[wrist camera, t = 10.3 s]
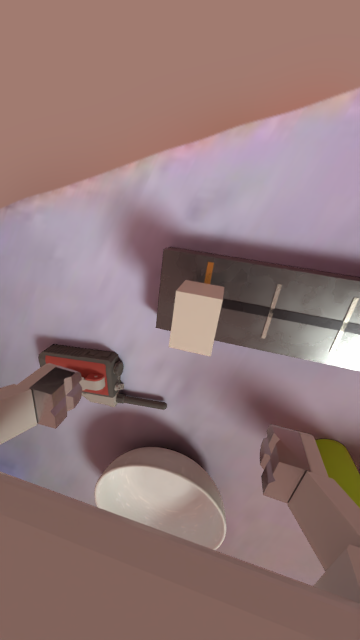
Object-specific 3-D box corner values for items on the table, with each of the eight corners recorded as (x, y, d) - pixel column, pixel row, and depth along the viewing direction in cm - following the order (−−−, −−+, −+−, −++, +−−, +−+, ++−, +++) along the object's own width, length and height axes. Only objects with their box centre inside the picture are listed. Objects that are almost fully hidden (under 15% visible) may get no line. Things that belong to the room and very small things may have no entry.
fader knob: (225, 280, 23) (222, 299, 17) (215, 325, 25) (210, 356, 19) (190, 274, 24) (176, 290, 18) (183, 318, 26) (168, 347, 20)
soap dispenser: (308, 429, 32) (410, 700, 14) (357, 449, 31) (530, 756, 13) (287, 455, 34) (349, 714, 16) (332, 474, 34) (449, 762, 16)
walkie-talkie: (55, 386, 39) (168, 405, 36) (35, 404, 35) (161, 428, 32) (45, 340, 36) (169, 357, 33) (22, 354, 32) (160, 375, 29)
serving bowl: (247, 459, 36) (250, 508, 30) (203, 525, 45) (198, 573, 39) (125, 409, 38) (104, 446, 31) (105, 483, 46) (85, 523, 40)
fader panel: (401, 284, 23) (425, 292, 20) (361, 359, 27) (377, 375, 24) (170, 246, 26) (163, 249, 24) (162, 318, 30) (155, 328, 27)
